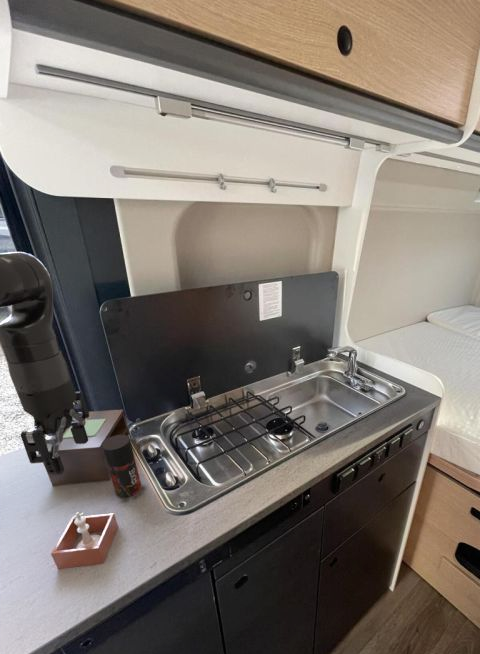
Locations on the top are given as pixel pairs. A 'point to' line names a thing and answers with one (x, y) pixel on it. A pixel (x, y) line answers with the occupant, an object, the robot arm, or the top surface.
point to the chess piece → (85, 532)
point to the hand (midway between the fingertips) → (70, 457)
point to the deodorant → (122, 465)
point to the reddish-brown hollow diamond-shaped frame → (87, 555)
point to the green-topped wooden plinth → (89, 449)
